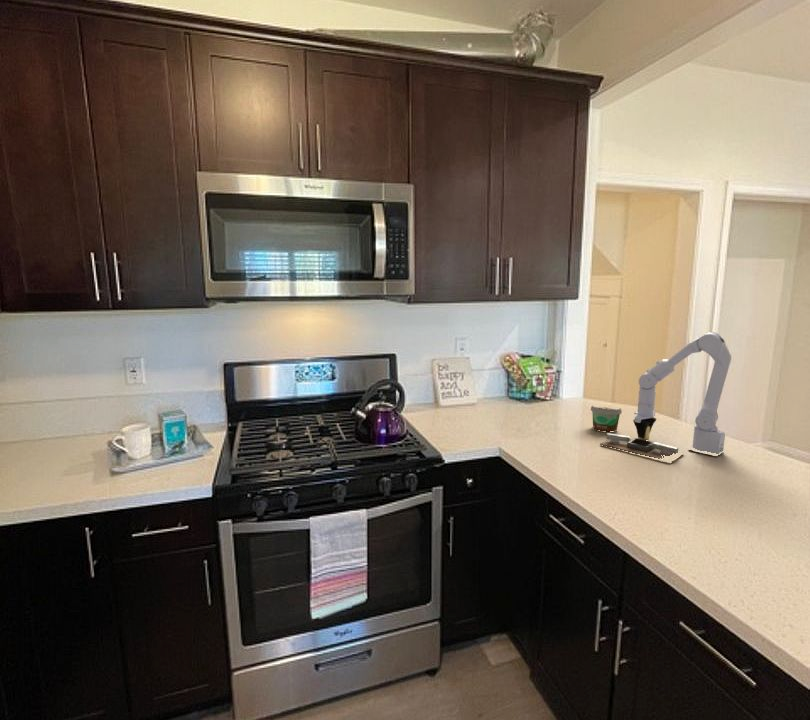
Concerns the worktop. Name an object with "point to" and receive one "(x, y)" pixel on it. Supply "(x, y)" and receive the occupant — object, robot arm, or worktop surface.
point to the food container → (605, 418)
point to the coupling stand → (639, 446)
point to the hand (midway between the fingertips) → (643, 436)
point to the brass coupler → (646, 434)
